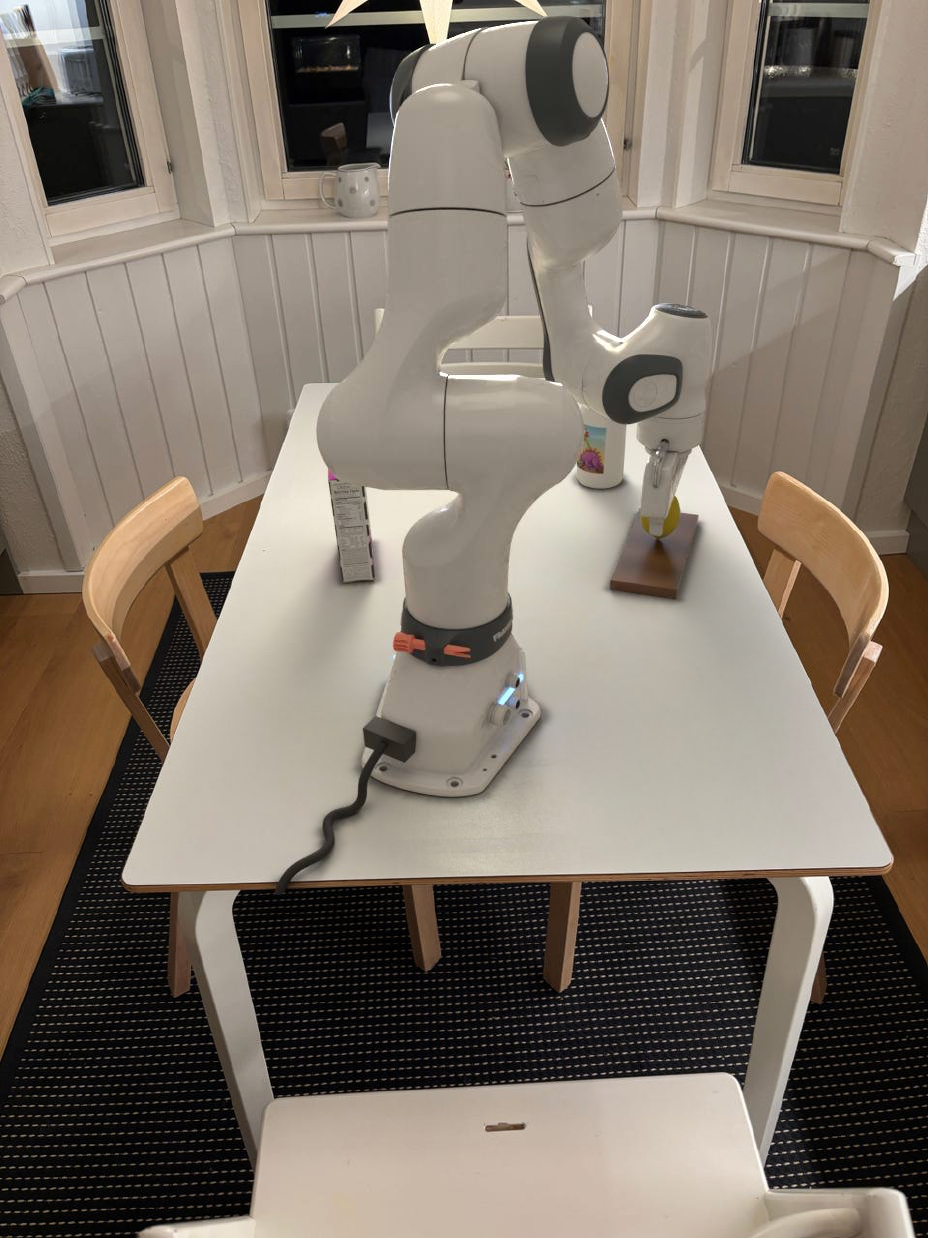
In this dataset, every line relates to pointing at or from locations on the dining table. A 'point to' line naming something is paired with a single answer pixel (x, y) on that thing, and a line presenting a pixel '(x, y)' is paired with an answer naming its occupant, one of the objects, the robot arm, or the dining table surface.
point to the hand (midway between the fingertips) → (661, 517)
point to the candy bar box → (352, 530)
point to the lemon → (666, 520)
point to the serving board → (654, 559)
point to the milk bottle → (601, 451)
